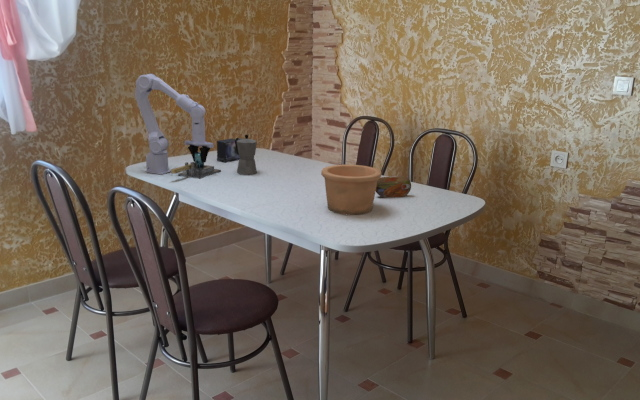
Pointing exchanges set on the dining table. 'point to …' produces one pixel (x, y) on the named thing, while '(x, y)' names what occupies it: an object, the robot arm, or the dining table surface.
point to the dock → (199, 171)
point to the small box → (227, 150)
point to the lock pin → (184, 168)
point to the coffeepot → (246, 155)
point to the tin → (393, 186)
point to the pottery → (350, 188)
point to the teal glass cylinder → (198, 159)
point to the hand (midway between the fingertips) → (199, 161)
